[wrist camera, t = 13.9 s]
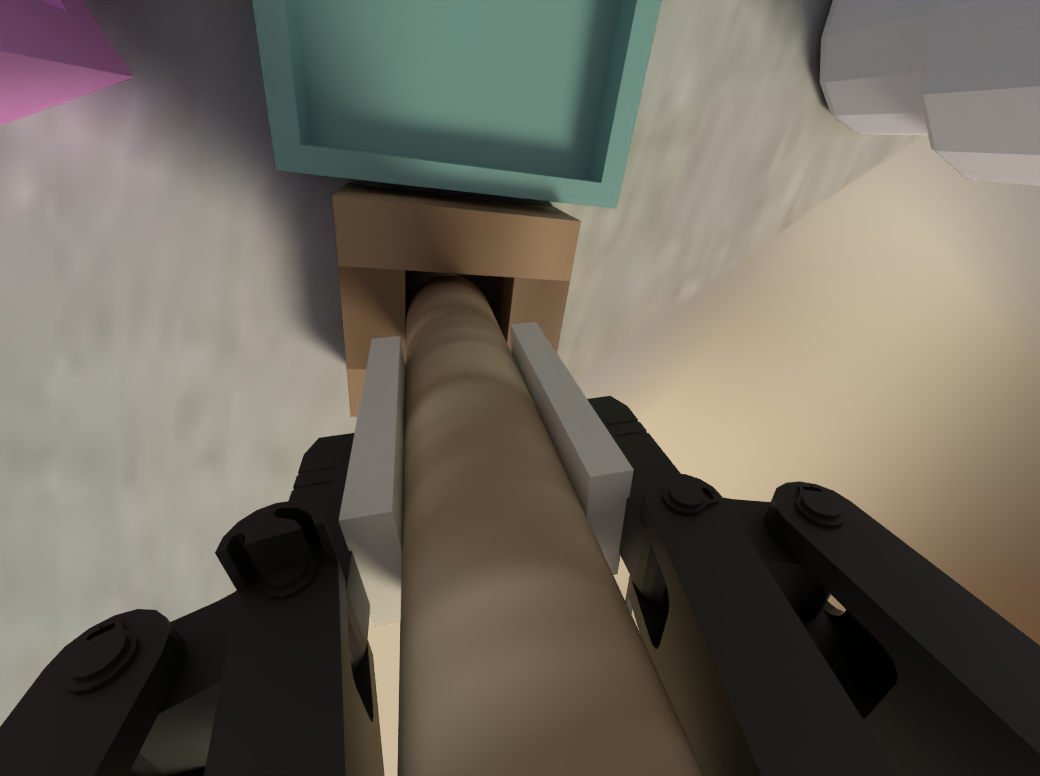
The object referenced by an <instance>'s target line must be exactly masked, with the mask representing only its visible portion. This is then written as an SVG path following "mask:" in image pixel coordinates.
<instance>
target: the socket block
mask: <svg viewBox="0 0 1040 776" xmlns="http://www.w3.org/2000/svg"><path fill="white" fill-rule="evenodd" d="M332 199H333V211H334V223H335V235H336V247H337V259H338V271H339V283H340V295H341V307H342V319H343V331H344V343H345V354H346V366H347V378H348V390H349V402H350V414H351V417H358V412H359V406H360V401H361V395H362V390H363V385H364V379H365V374H366V368H367V363H368V357H369V352H370V346H371V341H372V339H375V338H384V337H394V336H400V338H401V343H402V349H403V355H404V360H405V358H406V312H407V270H409V271H424V272H439V273H454V274H470V275H485V276H496V286H495V297H494V307H493V314H494V316H495V319H496V321H497V323H498V325H499V327H500V329H501V332H502V334H503V336H504V338H505V340H506V343H507V345H508V347H509V349H510V351H511V324H520V323H529V322H536V323H537V324H538V326H539V327H540V329H541V330H542V332H543V333H544V335H545V336H546V338H547V339H548V341H549V342H550V344H551V345H552V347H553V348H554V350H555V351H556V353H557V349H558V344H559V338H560V333H561V327H562V322H563V316H564V311H565V305H566V300H567V294H568V289H569V283H570V278H571V272H572V267H573V261H574V256H575V250H576V245H577V239H578V234H579V228H580V223H581V221H579V220H577V219H575V218H574V217H572V216H570V215H568V214H566V213H564V212H563V211H561V210H559V209H557V208H555V207H553V206H544V205H535V204H526V203H517V202H508V201H499V200H489V199H480V198H471V197H462V196H453V195H444V194H435V193H426V192H417V191H407V190H398V189H389V188H380V187H371V186H362V185H353V184H347V185H346V186H344V187H343V188H342V189H340V190H339V191H338V192H337V193H335V194H334V195H333V196H332Z"/></svg>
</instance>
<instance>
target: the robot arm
mask: <svg viewBox="0 0 1040 776" xmlns="http://www.w3.org/2000/svg"><path fill="white" fill-rule="evenodd" d="M511 353H512V356H513V358H514V360H515V362H516V364H517V367H518V369H519V371H520V373H521V375H522V377H523V380H524V382H525V384H526V386H527V388H528V391H529V393H530V395H531V397H532V399H533V401H534V404H535V406H536V408H537V410H538V412H539V415H540V417H541V419H542V421H543V423H544V425H545V428H546V430H547V432H548V434H549V436H550V439H551V441H552V443H553V445H554V447H555V449H556V452H557V454H558V456H559V458H560V460H561V463H562V465H563V467H564V469H565V471H566V473H567V476H568V478H569V480H570V482H571V484H572V487H573V489H574V491H575V493H576V495H577V497H578V500H579V502H580V504H581V506H582V508H583V510H584V513H585V515H586V517H587V519H588V521H589V524H590V526H591V528H592V530H593V532H594V534H595V537H596V539H597V541H598V543H599V545H600V548H601V550H602V552H603V554H604V556H605V558H606V561H607V563H608V565H609V567H610V569H611V572H612V574H613V575H615V574H617V573H618V567H619V561H620V555H621V557H622V559H623V561H624V563H625V565H626V567H627V569H628V571H629V573H630V577H629V583H628V589H627V594H626V599H625V602H626V604H627V606H628V609H629V611H630V613H631V614H632V609H633V611H634V615H635V618H636V621H637V625H638V628H639V632H640V635H641V637H642V639H643V641H644V644H645V646H646V648H647V650H648V652H649V654H650V657H651V659H652V661H653V663H654V665H655V668H656V670H657V672H658V674H659V676H660V678H661V681H662V683H663V685H664V687H665V689H666V692H667V694H668V696H669V698H670V700H671V702H672V705H673V707H674V709H675V711H676V713H677V715H678V718H679V720H680V722H681V724H682V726H683V729H684V731H685V733H686V735H687V737H688V739H689V742H690V744H691V746H692V748H693V750H694V753H695V755H696V757H697V759H698V761H699V763H700V766H701V768H702V770H703V772H704V774H705V776H1040V646H1039V645H1038V644H1037V643H1036V642H1034V641H1033V640H1032V639H1030V638H1029V637H1028V636H1026V635H1025V634H1024V633H1023V632H1021V631H1020V630H1018V629H1017V628H1016V627H1015V626H1013V625H1012V624H1010V623H1009V622H1008V621H1007V620H1005V619H1004V618H1003V617H1002V616H1000V615H999V614H998V613H996V612H995V611H994V610H992V609H991V608H989V607H988V606H987V605H986V604H984V603H983V602H982V601H981V600H979V599H978V598H976V597H975V596H974V595H973V594H971V593H970V592H969V591H967V590H966V589H965V588H963V587H962V586H961V585H960V584H958V583H957V582H955V581H954V580H953V579H952V578H950V577H949V576H948V575H946V574H945V573H944V572H942V571H941V570H940V569H939V568H937V567H936V566H935V565H933V564H932V563H931V562H929V561H928V560H927V559H925V558H924V557H923V556H922V555H920V554H919V553H917V552H916V551H915V550H913V549H912V548H911V547H909V546H908V545H907V544H906V543H904V542H903V541H902V540H901V539H899V538H898V537H896V536H895V535H894V534H893V533H891V532H890V531H889V530H887V529H886V528H885V527H883V526H882V525H881V524H880V523H878V522H877V521H876V520H874V519H873V518H871V517H870V516H869V515H868V514H866V513H865V512H864V511H862V510H861V509H860V508H859V507H857V506H856V505H855V504H853V503H852V502H851V501H849V500H848V499H846V498H844V497H843V496H841V495H840V494H838V493H836V492H835V491H833V490H829V489H827V488H824V487H822V486H819V485H816V484H811V483H805V482H790V483H785V484H783V485H781V486H779V487H778V488H776V491H775V493H774V496H773V498H772V500H771V502H761V501H748V500H735V499H728V498H723V497H722V496H721V495H720V494H719V493H718V492H717V491H716V489H714V487H712V486H711V485H709V484H707V483H706V482H704V481H702V480H701V479H698V478H695V477H692V476H689V475H686V474H681V473H680V472H679V471H678V470H677V468H676V467H675V466H674V465H673V464H672V462H671V461H670V460H669V458H668V457H667V456H666V454H665V453H664V452H663V451H662V450H661V448H660V447H659V446H658V445H657V443H656V442H655V441H654V439H653V438H652V437H651V436H650V434H649V433H647V432H646V429H645V428H644V427H643V426H642V424H641V423H640V422H638V419H637V418H636V417H635V416H634V414H633V413H632V411H631V410H630V409H629V408H628V406H626V405H625V404H623V403H621V402H620V401H618V400H616V399H615V398H613V397H611V396H606V397H599V398H591V399H587V398H586V397H585V395H584V394H583V392H582V391H581V389H580V388H579V386H578V385H577V383H576V382H575V380H574V379H573V377H572V376H571V374H570V373H569V371H568V370H567V368H566V367H565V365H564V364H563V362H562V361H561V359H560V358H559V356H558V355H557V353H556V351H555V350H554V348H553V347H552V345H551V344H550V342H549V341H548V339H547V338H546V336H545V335H544V333H543V332H542V330H541V329H540V327H539V326H538V324H537V323H536V322H529V323H520V324H511ZM405 369H406V366H405V360H404V355H403V349H402V343H401V338H400V336H394V337H384V338H375V339H372V341H371V346H370V352H369V357H368V363H367V368H366V374H365V379H364V385H363V390H362V395H361V401H360V406H359V412H358V417H357V423H356V428H355V433H351V434H344V435H337V436H329V437H322V438H319V439H318V440H317V441H316V442H315V443H314V444H313V445H312V446H311V447H310V448H309V449H308V451H307V452H306V453H305V454H304V456H303V459H302V462H301V465H300V468H299V471H298V474H299V475H298V476H297V477H296V480H295V483H294V486H293V488H294V491H292V493H291V496H290V499H289V501H288V502H281V503H275V504H272V505H270V506H267V507H264V508H262V509H259V510H256V511H255V512H253V513H252V514H250V515H248V516H247V517H245V518H244V519H242V520H241V521H239V522H237V524H236V525H235V526H234V527H233V528H232V529H231V530H230V531H229V532H228V533H227V534H226V535H225V536H224V537H223V538H222V540H221V542H220V544H219V546H218V548H217V550H216V552H215V554H216V555H217V557H218V559H219V561H220V562H221V564H222V566H223V567H224V569H225V571H226V572H227V574H228V576H229V578H230V579H231V581H232V583H233V584H234V586H235V588H236V589H237V591H235V592H234V593H232V594H230V595H228V596H227V597H225V598H223V599H221V600H219V601H217V602H215V603H213V604H210V605H208V606H206V607H204V608H201V609H199V610H197V611H195V612H192V613H190V614H188V615H186V616H183V617H181V618H179V619H177V620H174V621H172V622H169V620H168V619H167V618H166V617H165V616H163V615H162V614H161V613H159V612H158V611H156V610H145V609H136V610H133V611H129V612H125V613H122V614H118V615H115V616H113V617H111V618H109V619H107V620H105V621H103V622H101V623H99V624H97V625H95V626H93V627H91V628H89V629H88V630H87V631H85V632H84V633H83V634H81V635H80V636H79V637H77V638H76V639H75V640H73V641H72V642H71V643H69V644H68V645H67V646H65V647H64V648H63V649H62V650H61V651H60V653H59V654H58V655H57V656H56V657H55V658H54V659H53V660H52V661H51V662H50V663H49V664H48V665H47V666H46V667H45V669H44V670H43V671H42V672H41V674H40V675H39V676H38V678H37V679H36V680H35V682H34V683H33V684H32V686H31V687H30V688H29V690H28V691H27V692H26V694H25V695H24V696H23V698H22V699H21V700H20V702H19V703H18V704H17V705H16V707H15V708H14V709H13V711H12V712H11V713H10V715H9V716H8V717H7V719H6V720H5V721H4V723H3V724H2V725H1V727H0V776H384V766H383V756H382V746H381V736H380V724H379V715H378V703H377V694H376V682H375V673H374V662H373V654H372V651H371V648H370V645H369V642H368V639H367V638H368V626H369V614H371V617H372V620H373V623H374V626H375V627H376V626H380V625H384V624H389V623H394V622H398V621H401V569H402V535H403V480H404V424H405ZM830 595H832V596H833V597H835V599H836V600H837V601H838V602H839V603H840V604H842V606H843V607H844V608H845V609H846V611H845V612H843V611H841V610H839V609H836V608H835V607H834V606H833V605H831V604H830V603H829V602H828V601H827V600H828V598H829V597H830Z"/></svg>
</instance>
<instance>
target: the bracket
mask: <svg viewBox="0 0 1040 776" xmlns="http://www.w3.org/2000/svg"><path fill="white" fill-rule="evenodd" d="M130 78H133V75H132V74H131V72H130V71H129V69H128V68H127V66H126V65H125V63H124V62H123V60H122V59H121V57H120V56H119V54H118V53H117V51H116V50H115V48H114V47H113V45H112V44H111V42H110V41H109V39H108V37H107V36H106V34H105V33H104V31H103V30H102V28H101V27H100V25H99V24H98V22H97V21H96V19H95V18H94V16H93V15H92V13H91V12H90V10H89V9H88V7H87V6H86V4H85V3H84V1H83V0H0V125H3V124H6V123H8V122H11V121H14V120H17V119H19V118H22V117H25V116H28V115H30V114H33V113H36V112H39V111H41V110H44V109H47V108H50V107H53V106H55V105H58V104H61V103H64V102H66V101H69V100H72V99H75V98H77V97H80V96H83V95H86V94H88V93H91V92H94V91H97V90H99V89H102V88H105V87H108V86H110V85H113V84H116V83H119V82H122V81H124V80H127V79H130Z"/></svg>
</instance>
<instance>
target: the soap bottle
mask: <svg viewBox="0 0 1040 776" xmlns="http://www.w3.org/2000/svg"><path fill="white" fill-rule="evenodd" d="M820 84H821V87H822V90H823V93H824V96H825V99H826V102H827V104H828V107H829V110H830V113H831V114H832V115H833V116H834V117H835V118H837V119H838V120H839V121H840V122H842V123H843V124H844V125H845V126H847V127H848V128H849V129H850V130H852V131H854V132H856V133H864V134H882V135H928V136H929V141H930V145H931V148H932V149H933V150H934V151H935V152H936V153H937V154H938V155H940V156H941V157H942V158H943V159H944V160H945V161H946V162H947V163H949V164H950V165H951V166H952V167H953V168H954V169H955V170H956V171H958V172H959V173H960V174H961V175H962V176H964V177H965V178H966V179H972V180H983V181H995V182H1006V183H1017V184H1028V185H1040V0H833V2H832V5H831V8H830V11H829V15H828V18H827V21H826V24H825V28H824V31H823V34H822V37H821V58H820Z"/></svg>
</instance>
